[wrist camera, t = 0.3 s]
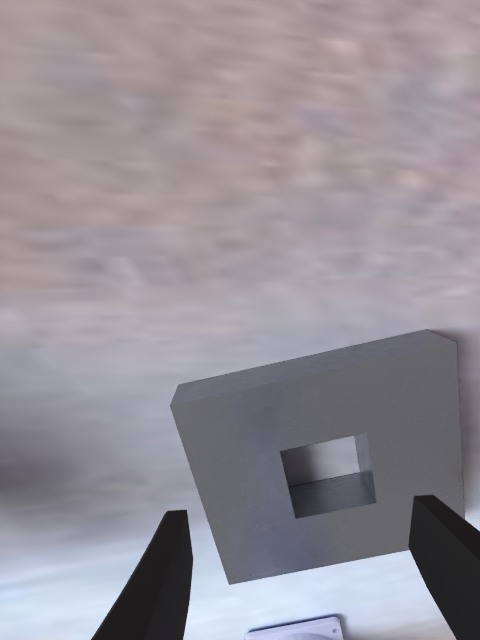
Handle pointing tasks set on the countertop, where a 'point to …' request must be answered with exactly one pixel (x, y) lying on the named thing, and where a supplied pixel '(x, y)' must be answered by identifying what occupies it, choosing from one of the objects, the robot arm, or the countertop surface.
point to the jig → (315, 427)
